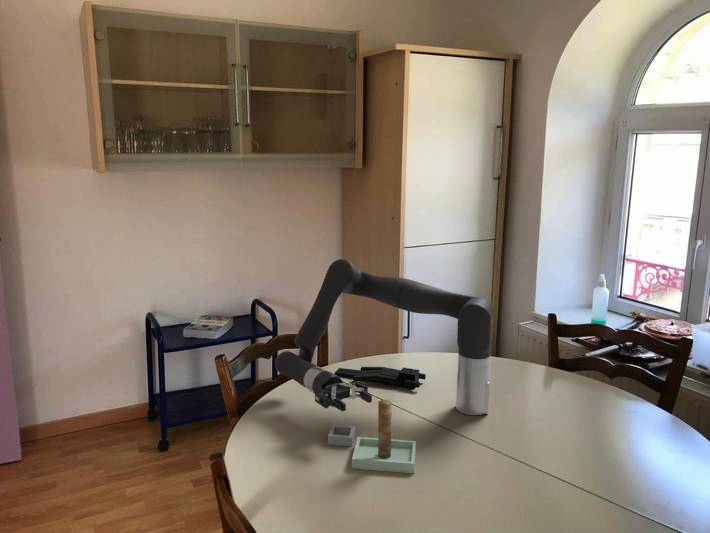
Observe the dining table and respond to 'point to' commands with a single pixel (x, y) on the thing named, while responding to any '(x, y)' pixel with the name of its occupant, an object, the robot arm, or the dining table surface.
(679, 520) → the dining table surface
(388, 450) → the dowel
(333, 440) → the holder
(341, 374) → the toy
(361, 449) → the tray
